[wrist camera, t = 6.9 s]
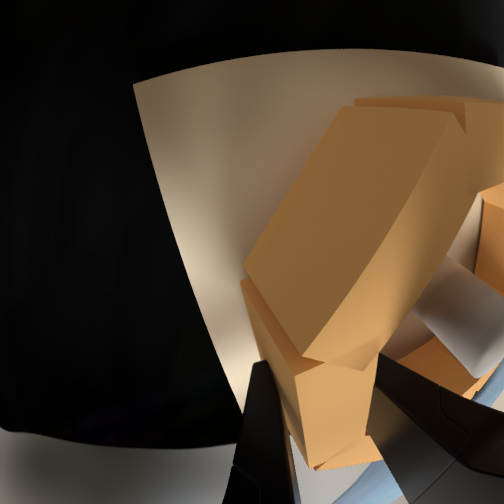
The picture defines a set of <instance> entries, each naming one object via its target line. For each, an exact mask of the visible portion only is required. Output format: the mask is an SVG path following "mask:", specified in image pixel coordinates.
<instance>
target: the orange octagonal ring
mask: <svg viewBox="0 0 504 504" xmlns="http://www.w3.org/2000/svg"><path fill="white" fill-rule="evenodd" d="M354 103H355V106H342V107H341V108H340V110H339V111H338V113H337V115H336V116H335V118H334V119H333V121H332V123H331V124H330V126H329V127H328V129H327V131H326V132H325V134H324V135H323V137H322V138H321V140H320V142H319V143H318V145H317V146H316V148H315V150H314V151H313V153H312V154H311V156H310V158H309V159H308V161H307V162H306V164H305V166H304V167H303V169H302V170H301V172H300V174H299V175H298V177H297V178H296V180H295V181H294V183H293V185H292V186H291V188H290V189H289V191H288V193H287V194H286V196H285V197H284V199H283V201H282V202H281V204H280V205H279V207H278V209H277V210H276V212H275V213H274V215H273V217H272V218H271V220H270V221H269V223H268V225H267V226H266V228H265V229H264V231H263V232H262V234H261V236H260V237H259V239H258V240H257V242H256V244H255V245H254V247H253V248H252V250H251V252H250V253H249V255H248V256H247V258H246V260H245V261H244V263H243V264H242V265H243V267H244V269H245V270H246V272H247V273H248V275H249V276H250V278H247V279H244V280H241V281H239V282H240V286H241V290H242V293H243V297H244V301H245V305H246V308H247V312H248V316H249V320H250V323H251V327H252V331H253V334H254V338H255V342H256V345H257V349H258V352H259V356H260V360H265V359H266V360H267V362H268V364H269V366H270V368H271V371H272V374H273V377H274V379H275V382H276V385H277V388H278V391H279V395H280V399H281V403H282V407H283V411H284V415H285V419H286V423H287V427H288V429H289V431H290V433H291V435H292V437H293V439H294V441H295V443H296V445H297V447H298V448H299V450H300V452H301V454H302V456H303V458H304V460H305V462H306V464H307V465H308V467H309V469H310V468H314V469H315V471H318V470H326V469H334V468H341V467H346V466H352V465H358V464H364V463H369V462H374V461H378V460H383V457H382V456H381V454H380V452H379V451H378V449H377V447H376V445H375V444H374V442H373V440H372V438H371V437H370V435H369V433H368V432H367V430H366V425H367V420H368V414H369V409H370V403H371V398H372V391H373V385H374V382H375V376H376V369H377V361H378V353H379V352H380V350H381V349H382V348H383V347H384V345H385V344H386V343H387V341H388V340H389V339H390V337H391V336H392V335H393V334H394V332H395V331H396V330H397V328H398V327H399V325H400V324H401V323H402V321H403V320H404V319H405V317H406V316H407V314H408V313H409V312H410V310H411V309H412V307H413V306H414V304H415V303H416V301H417V300H418V298H419V297H420V295H421V294H422V292H423V291H424V289H425V288H426V286H427V285H428V283H429V282H430V280H431V278H432V277H433V275H434V274H435V272H436V270H437V269H438V267H439V266H440V264H441V262H442V261H443V259H444V257H445V255H446V254H447V252H448V250H449V248H450V247H451V245H452V243H453V241H454V240H455V238H456V236H457V234H458V232H459V230H460V228H461V227H462V225H463V223H464V221H465V219H466V217H467V215H468V213H469V211H470V209H471V207H472V205H473V203H474V201H475V199H476V196H477V194H478V193H479V192H480V194H481V196H482V197H483V199H484V211H483V221H482V229H481V236H480V243H479V250H478V256H477V261H476V267H475V272H474V275H476V276H477V277H478V278H480V279H481V280H482V281H484V282H485V283H486V284H487V285H489V286H490V287H491V288H493V289H494V290H495V291H496V292H498V293H499V294H500V295H502V296H503V297H504V102H503V101H496V100H489V99H481V98H472V97H462V96H436V95H416V96H384V97H368V98H355V99H354ZM397 362H398V363H400V364H402V365H404V366H406V367H407V368H409V369H411V370H413V371H415V372H417V373H418V374H420V375H422V376H424V377H426V378H428V379H430V380H431V381H433V382H435V383H437V384H439V386H443V387H445V388H447V389H448V390H450V391H452V392H454V393H456V394H459V395H461V396H463V397H465V398H467V399H471V398H472V397H473V396H474V394H475V392H476V391H479V390H480V389H481V387H482V386H483V385H484V384H485V382H486V381H487V380H488V378H489V377H490V376H491V374H492V373H493V372H494V370H495V369H496V367H497V366H498V365H499V363H500V362H501V361H500V362H499V363H498V364H497V365H496V366H495V367H494V368H493V369H492V370H491V371H490V372H488V373H487V374H485V375H484V376H482V377H480V378H474V377H473V376H472V375H471V374H470V372H469V371H468V370H467V369H466V368H465V367H464V366H463V365H462V363H461V362H460V361H459V360H458V359H457V358H456V357H455V356H454V355H453V353H452V352H451V351H450V350H449V349H448V348H447V347H446V346H445V345H444V344H443V343H442V342H441V340H440V339H439V338H438V337H437V336H436V335H435V336H434V337H433V338H432V340H430V341H429V342H427V343H426V344H424V345H423V346H421V347H419V348H418V349H416V350H415V351H413V352H412V353H410V354H408V355H407V356H405V357H403V358H402V359H400V360H398V361H397Z"/></svg>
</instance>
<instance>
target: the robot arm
mask: <svg viewBox="0 0 504 504" xmlns="http://www.w3.org/2000/svg"><path fill="white" fill-rule="evenodd" d="M366 430H367V432H368V433H369V435H370V437H371V438H372V440H373V442H374V444H375V445H376V447H377V449H378V451H379V452H380V454H381V456H382V457H383V459H384V461H385V463H386V464H387V466H388V468H389V470H390V471H391V473H392V475H393V477H394V478H395V480H396V482H397V484H398V485H399V487H400V489H401V491H402V492H403V494H404V496H405V498H406V499H407V501H408V503H409V504H504V412H501V411H498V410H496V409H493V408H490V407H487V406H485V405H482V404H479V403H477V402H474V401H472V400H470V399H467V398H465V397H463V396H461V395H459V394H456V393H454V392H452V391H450V390H448V389H447V388H445V387H443V386H439V384H437V383H435V382H433V381H431V380H430V379H428V378H426V377H424V376H422V375H420V374H418V373H417V372H415V371H413V370H411V369H409V368H407V367H406V366H404V365H402V364H400V363H398V362H396V361H395V360H393V359H391V358H389V357H387V356H385V355H384V354H382V353H380V352H379V353H378V361H377V369H376V376H375V382H374V385H373V391H372V398H371V403H370V409H369V414H368V420H367V425H366ZM233 465H234V466H232V468H231V472H230V477H229V481H228V485H227V489H226V492H225V496H224V499H223V502H222V504H301V499H300V493H299V488H298V482H297V476H296V471H295V465H294V459H293V454H292V448H291V443H290V437H289V432H288V427H287V423H286V419H285V415H284V411H283V407H282V403H281V399H280V395H279V391H278V388H277V385H276V382H275V379H274V377H273V374H272V371H271V368H270V366H269V364H268V362H267V360H266V359H265V360H261V361H258V362H254V363H253V365H252V370H251V375H250V380H249V385H248V390H247V395H246V400H245V405H244V410H243V415H242V420H241V425H240V430H239V435H238V440H237V445H236V449H235V454H234V459H233Z"/></svg>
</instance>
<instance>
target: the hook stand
mask: <svg viewBox="0 0 504 504" xmlns="http://www.w3.org/2000/svg"><path fill="white" fill-rule="evenodd" d="M133 87H134V92H135V96H136V100H137V105H138V109H139V113H140V117H141V121H142V125H143V129H144V133H145V136H146V140H147V144H148V148H149V151H150V155H151V159H152V162H153V166H154V169H155V173H156V176H157V180H158V183H159V187H160V190H161V193H162V197H163V200H164V203H165V207H166V210H167V213H168V216H169V220H170V223H171V226H172V229H173V232H174V235H175V238H176V241H177V244H178V247H179V250H180V253H181V256H182V259H183V262H184V265H185V268H186V271H187V274H188V277H189V280H190V282H191V285H192V288H193V291H194V294H195V296H196V299H197V302H198V305H199V307H200V310H201V313H202V315H203V318H204V321H205V323H206V326H207V328H208V331H209V334H210V336H211V339H212V341H213V344H214V346H215V349H216V351H217V354H218V356H219V359H220V361H221V364H222V366H223V369H224V371H225V374H226V376H227V378H228V381H229V383H230V386H231V388H232V390H233V393H234V395H235V397H236V400H237V402H238V404H239V406H240V409H241V411H242V413H243V410H244V405H245V400H246V395H247V390H248V385H249V380H250V375H251V370H252V365H253V363H254V362H258V361H261V360H260V356H259V352H258V349H257V345H256V342H255V338H254V334H253V331H252V327H251V323H250V320H249V316H248V312H247V308H246V305H245V301H244V297H243V293H242V290H241V286H240V282H239V281H241V280H244V279H247V278H250V276H249V275H248V273H247V272H246V270H245V269H244V267H243V265H242V264H243V263H244V261H245V260H246V258H247V256H248V255H249V253H250V252H251V250H252V248H253V247H254V245H255V244H256V242H257V240H258V239H259V237H260V236H261V234H262V232H263V231H264V229H265V228H266V226H267V225H268V223H269V221H270V220H271V218H272V217H273V215H274V213H275V212H276V210H277V209H278V207H279V205H280V204H281V202H282V201H283V199H284V197H285V196H286V194H287V193H288V191H289V189H290V188H291V186H292V185H293V183H294V181H295V180H296V178H297V177H298V175H299V174H300V172H301V170H302V169H303V167H304V166H305V164H306V162H307V161H308V159H309V158H310V156H311V154H312V153H313V151H314V150H315V148H316V146H317V145H318V143H319V142H320V140H321V138H322V137H323V135H324V134H325V132H326V131H327V129H328V127H329V126H330V124H331V123H332V121H333V119H334V118H335V116H336V115H337V113H338V111H339V110H340V108H341V107H342V106H355V103H354V99H355V98H368V97H384V96H416V95H436V96H462V97H472V98H481V99H489V100H496V101H503V102H504V68H501V67H497V66H493V65H489V64H485V63H480V62H476V61H471V60H466V59H460V58H455V57H449V56H442V55H435V54H427V53H418V52H408V51H395V50H377V49H326V50H307V51H294V52H283V53H274V54H266V55H258V56H251V57H245V58H239V59H233V60H227V61H222V62H217V63H212V64H207V65H202V66H198V67H194V68H189V69H185V70H181V71H177V72H174V73H170V74H166V75H163V76H159V77H156V78H152V79H149V80H146V81H143V82H139V83H136V84H133ZM483 211H484V199H483V197H482V196H481V194H480V192H479V193H478V194H477V196H476V199H475V201H474V203H473V205H472V207H471V209H470V211H469V213H468V215H467V217H466V219H465V221H464V223H463V225H462V227H461V228H460V230H459V232H458V234H457V236H456V238H455V240H454V241H453V243H452V245H451V247H450V248H449V250H448V252H447V254H446V255H445V257H444V259H443V261H442V262H441V264H440V266H439V267H438V269H437V270H436V272H435V274H434V275H433V277H432V278H431V280H430V282H429V283H428V285H427V286H426V288H425V289H424V291H423V292H422V294H421V295H420V297H419V298H418V300H417V301H416V303H415V304H414V306H413V307H412V309H411V310H410V312H409V313H408V314H407V316H406V317H405V319H404V320H403V321H402V323H401V324H400V325H399V327H398V328H397V330H396V331H395V332H394V334H393V335H392V336H391V337H390V339H389V340H388V341H387V343H386V344H385V345H384V347H383V348H382V349H381V350H380V353H382V354H384V355H385V356H387V357H389V358H391V359H393V360H395V361H396V362H397V361H398V360H400V359H402V358H403V357H405V356H407V355H408V354H410V353H412V352H413V351H415V350H416V349H418V348H419V347H421V346H423V345H424V344H426V343H427V342H429V341H430V340H432V338H433V337H434V336H435V335H436V336H437V337H438V338H439V339H440V340H441V342H442V343H443V344H444V345H445V346H446V347H447V348H448V349H449V350H450V351H451V352H452V353H453V355H454V356H455V357H456V358H457V359H458V360H459V361H460V362H461V363H462V365H463V366H464V367H465V368H466V369H467V370H468V371H469V372H470V374H471V375H472V376H473V377H474V378H480V377H482V376H484V375H485V374H487V373H488V372H490V371H491V370H492V369H493V368H494V367H495V366H496V365H497V364H498V363H499V362H500V361H501V360H502V359H503V358H504V297H503V296H502V295H500V294H499V293H498V292H496V291H495V290H494V289H493V288H491V287H490V286H489V285H487V284H486V283H485V282H484V281H482V280H481V279H480V278H478V277H477V276H476V275H474V272H475V267H476V261H477V256H478V250H479V243H480V236H481V229H482V221H483Z"/></svg>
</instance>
